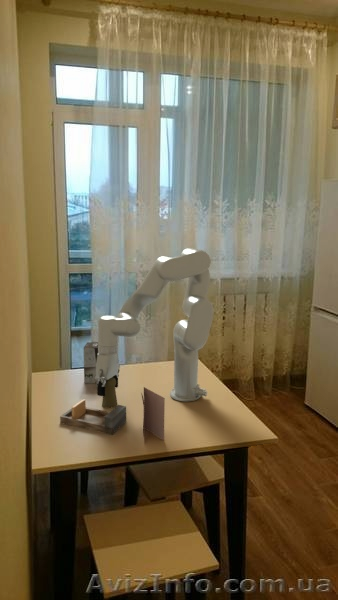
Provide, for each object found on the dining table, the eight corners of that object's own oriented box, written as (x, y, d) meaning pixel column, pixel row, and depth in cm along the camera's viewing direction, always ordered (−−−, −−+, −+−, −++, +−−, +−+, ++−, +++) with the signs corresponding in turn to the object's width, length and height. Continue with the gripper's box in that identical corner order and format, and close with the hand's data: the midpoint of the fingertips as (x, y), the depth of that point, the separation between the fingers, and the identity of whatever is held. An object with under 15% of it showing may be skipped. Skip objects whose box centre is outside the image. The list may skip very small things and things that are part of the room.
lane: (126, 421, 155) (126, 406, 154) (112, 434, 146) (112, 418, 144) (76, 411, 162) (76, 396, 161) (60, 423, 153) (59, 407, 152)
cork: (110, 409, 164) (110, 382, 162) (98, 405, 167) (98, 378, 165) (120, 403, 169) (120, 377, 167) (108, 400, 172) (108, 374, 170)
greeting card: (141, 427, 151) (141, 386, 148) (162, 427, 151) (162, 386, 148) (141, 444, 140) (141, 401, 137) (164, 444, 140) (164, 400, 137)
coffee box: (98, 383, 189) (97, 347, 186) (83, 383, 190) (82, 347, 186) (101, 375, 198) (101, 341, 195) (87, 375, 198) (87, 341, 195)
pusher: (85, 412, 159) (85, 399, 158) (74, 420, 153) (74, 407, 152) (83, 411, 159) (83, 399, 158) (72, 420, 153) (71, 407, 152)
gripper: (111, 341, 173) (110, 382, 176) (87, 353, 157) (87, 397, 161) (127, 344, 170) (126, 385, 174) (105, 356, 155) (104, 401, 158)
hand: (107, 391), depth 167 cm, fingers open, 9 cm apart
